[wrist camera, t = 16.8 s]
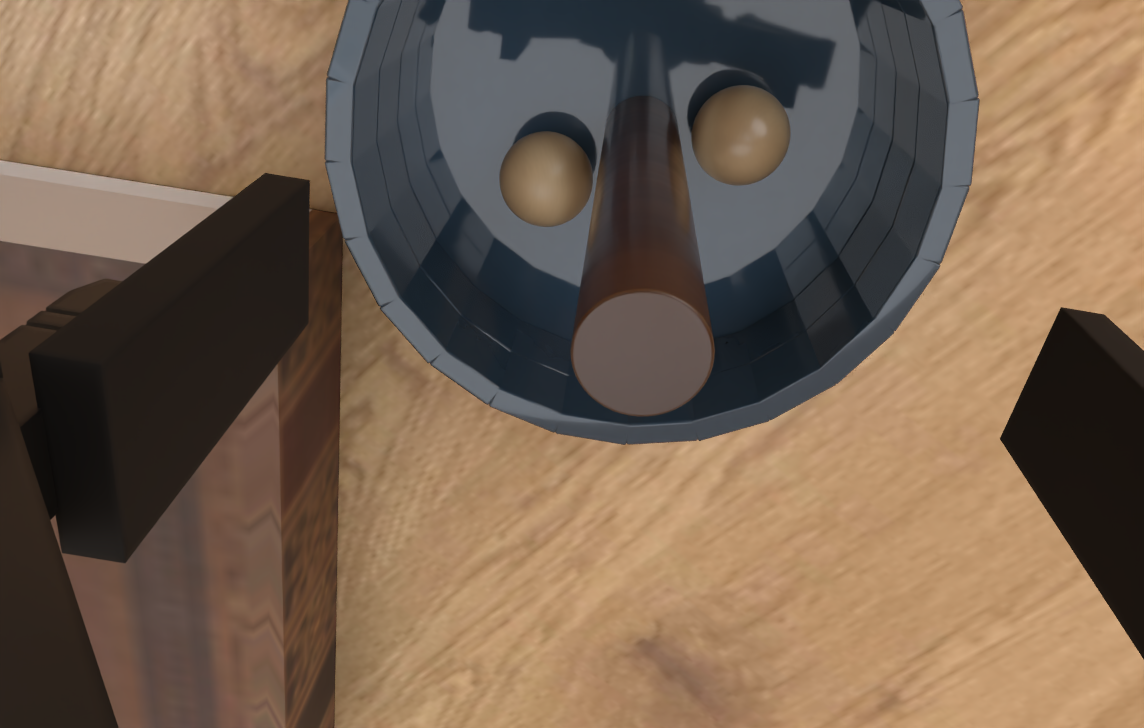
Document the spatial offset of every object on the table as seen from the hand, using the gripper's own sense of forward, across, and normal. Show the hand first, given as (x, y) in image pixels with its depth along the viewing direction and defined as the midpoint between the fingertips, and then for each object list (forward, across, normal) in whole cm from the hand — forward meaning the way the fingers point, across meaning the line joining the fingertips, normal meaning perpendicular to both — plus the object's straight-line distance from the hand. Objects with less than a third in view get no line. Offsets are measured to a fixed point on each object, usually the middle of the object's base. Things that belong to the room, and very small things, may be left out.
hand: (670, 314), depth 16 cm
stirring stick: (+15, 0, 0) cm, 15 cm away
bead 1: (+13, -3, -2) cm, 14 cm away
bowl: (+16, 0, 0) cm, 16 cm away
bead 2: (+13, +2, 0) cm, 14 cm away
